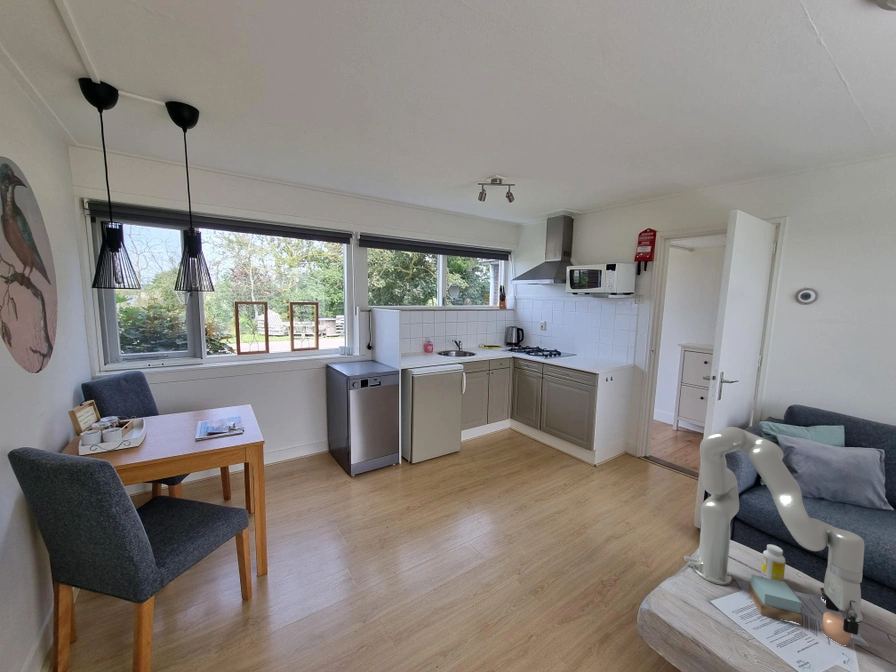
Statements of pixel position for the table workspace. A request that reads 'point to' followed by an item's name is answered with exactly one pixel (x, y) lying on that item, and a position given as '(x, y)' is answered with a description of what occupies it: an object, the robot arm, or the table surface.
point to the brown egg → (835, 628)
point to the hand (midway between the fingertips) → (840, 620)
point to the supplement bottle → (773, 563)
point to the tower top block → (775, 593)
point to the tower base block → (774, 609)
